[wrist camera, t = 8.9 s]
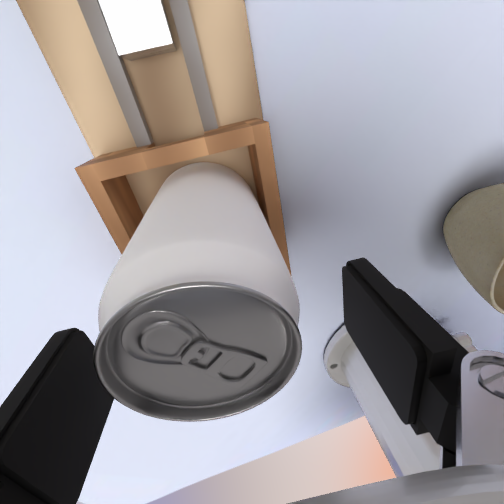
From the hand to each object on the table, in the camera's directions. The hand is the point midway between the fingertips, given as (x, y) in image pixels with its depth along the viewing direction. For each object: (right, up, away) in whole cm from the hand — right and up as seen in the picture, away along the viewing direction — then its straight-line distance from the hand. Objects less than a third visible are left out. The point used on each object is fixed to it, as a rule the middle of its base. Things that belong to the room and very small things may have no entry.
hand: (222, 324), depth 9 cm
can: (-2, +6, +8) cm, 10 cm away
